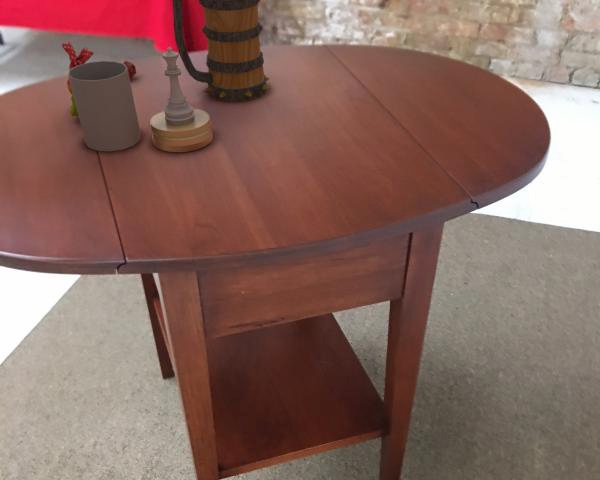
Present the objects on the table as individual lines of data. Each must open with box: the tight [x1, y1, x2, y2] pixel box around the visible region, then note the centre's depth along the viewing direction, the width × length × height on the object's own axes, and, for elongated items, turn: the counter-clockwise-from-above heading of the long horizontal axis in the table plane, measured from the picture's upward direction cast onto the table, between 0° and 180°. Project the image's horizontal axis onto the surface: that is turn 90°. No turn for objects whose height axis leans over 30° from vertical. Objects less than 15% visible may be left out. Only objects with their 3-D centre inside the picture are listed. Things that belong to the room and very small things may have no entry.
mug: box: [171, 0, 271, 103], centre depth 104 cm, size 13×17×20 cm
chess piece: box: [161, 46, 194, 125], centre depth 92 cm, size 4×4×10 cm
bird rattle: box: [61, 42, 94, 118], centre depth 103 cm, size 6×11×9 cm
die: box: [122, 60, 137, 79], centre depth 116 cm, size 3×3×3 cm
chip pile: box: [149, 107, 214, 153], centre depth 97 cm, size 10×9×3 cm
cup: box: [67, 60, 142, 152], centre depth 95 cm, size 8×8×10 cm
